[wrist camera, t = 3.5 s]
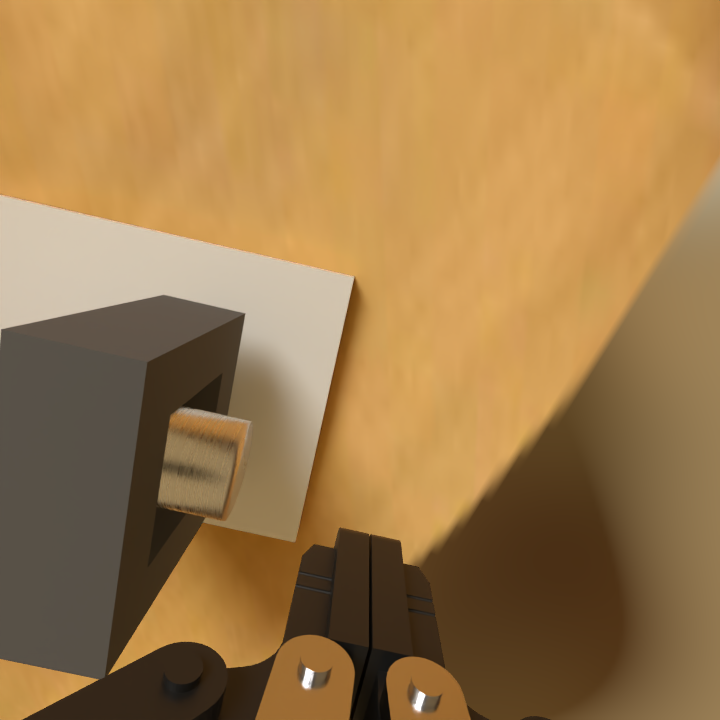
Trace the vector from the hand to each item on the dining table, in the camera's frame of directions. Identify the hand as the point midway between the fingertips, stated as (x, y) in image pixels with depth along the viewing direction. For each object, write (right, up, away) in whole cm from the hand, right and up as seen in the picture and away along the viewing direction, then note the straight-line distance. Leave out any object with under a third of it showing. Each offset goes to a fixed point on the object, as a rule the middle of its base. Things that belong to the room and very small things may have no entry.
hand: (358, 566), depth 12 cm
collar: (-6, +3, +7) cm, 10 cm away
